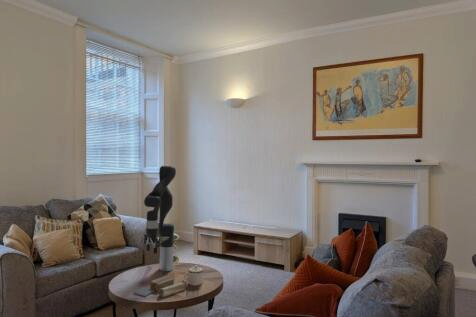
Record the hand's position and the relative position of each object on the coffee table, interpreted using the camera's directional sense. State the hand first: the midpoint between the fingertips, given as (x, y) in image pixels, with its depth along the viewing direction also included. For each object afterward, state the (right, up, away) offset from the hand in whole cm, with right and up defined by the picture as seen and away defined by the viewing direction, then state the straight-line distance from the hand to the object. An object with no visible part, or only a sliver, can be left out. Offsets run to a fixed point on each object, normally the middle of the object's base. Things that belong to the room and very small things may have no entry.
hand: (151, 251), depth 218 cm
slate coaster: (0, -20, -16) cm, 26 cm away
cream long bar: (+17, -20, -15) cm, 30 cm away
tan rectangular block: (+9, -21, -8) cm, 24 cm away
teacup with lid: (+27, -21, 0) cm, 34 cm away
